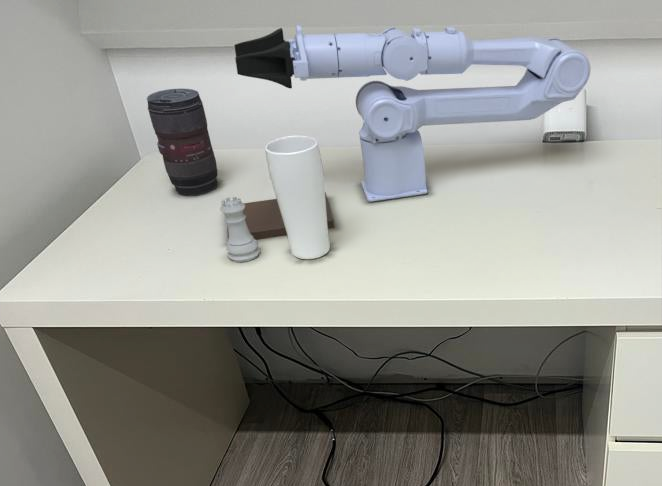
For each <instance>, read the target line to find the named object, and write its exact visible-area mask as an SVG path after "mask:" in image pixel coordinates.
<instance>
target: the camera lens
mask: <svg viewBox="0 0 662 486" xmlns="http://www.w3.org/2000/svg"><path fill="white" fill-rule="evenodd" d="M201 98H202V97H201V96H200V93H199V91H198V90H195V89H191V88H170V89H163V90H158V91H155V92H152V93H150V94H149V95H148V96H146V101H147V110H148V114H149V118H150V121H151V125H152V128H153V131H154V134H155V135H156V139H157V142H156V145H157V149H158V152H159V153H160V155H161V156H162V161H163V163H164V168H165V171H166V174H167V176H168V178H169V181H170V183H171V185H173V186H174V188H175V191H176V193H177V194H178V195H180V196H185V197H193V196H200V195H204V194H208V193H210V192H212V191H214V190H215V189H217V187H218V186H219V182H218V175H219V173H218V166H217V165H218V164H217V160H216V156H215V152H214V149H213V146H212V142H211V138H210V133H209V129H208V121H207V115H206V111H205V108H204V107H205V106H204V104H203V103H204V102H203V101H202V99H201Z"/></svg>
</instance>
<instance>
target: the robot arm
mask: <svg viewBox="0 0 662 486" xmlns="http://www.w3.org/2000/svg"><path fill="white" fill-rule="evenodd" d="M233 46H234V51H235V57H234V59H235V65H236V66H235V67H236V72H237V75H239V76H243V77H248V78H254V79H259V80H265V81H269V82H273V83H276V84H278V85H281V86H283V87H285V88H287V89H293V84H292V77H294V78H295V79H299V80H300V81H301V82H303V81H307V80H312V79H315V80H316V79H317V80H318V79H340V78H341V79H342V78H366V77H368V78H369V77H371V76H373V77H374V76H387V74H389V75H390V76H391V77H393V78H395V79H397V80H403V81H405V82H407V81H410V80H412V79H415V77H417V76H418V75H421V76H426V75H429V76H431V75H460V74H461V75H463V74H464V73H465V72H466V71H467V70H468V69H469V68H470V67H471V66H472V65H475V66H477V65H479V66H480V65H481V66H515V67H516V66H519V67H524V68H526V70H525V72H524V74H523V76H522V77H521V79H520V80H519V81H518V83H517V84H516V85H505V86H481V87H479V86H478V87H476V86H475V87H455V88H453V87H452V88H433V89H431V88H429V89H415V88H411V87H407V86H403V85H401V86H399V85H397V86H395V85H390V84H388V83H386V82H384V81H381V80H371V81H367V82H366V83H364V84H363V85H362V86H361V87H360V88H358V91H357V93H356V96H355V108H356V110H357V114H358V115H359V116H360V117H361V119H362V121H363V123H362V126H361V128H360V130H359V131H358V135H359V142H360V149H361V150H360V151H361V157H362V165H363V173H364V179H363V180H361V181H360V185H361V187H362V189H363V193H364V195H365V197H366V200H367V202H369V203H371V202H378V201H386V200H391V199H399V198H406V197H413V196H420V195H426V194H428V192H429V191H428V189H427V188H428V187H427V176H426V174H427V173H426V163H425V161H426V160H425V151H424V145H423V140H422V136H421V133H420V131H419V129H421V128H422V127H423V126H442V125H443V126H444V125H460V124H462V125H463V124H480V123H498V122H499V123H500V122H501V123H502V122H517V121H518V122H519V121H531V120H532V121H533V120H536V119H537V118H539V117H540V116H542V115H544V114H546V113H547V112H549V111H551V110H552V109H554V108H556V107H557V106H559V105H561V104H563V103H565V102H569V101H574V100H575V99H576V98H577V97H578V95H579V94H580V93H581V91H582V90H583V88H584V87H585V86H586V84H587V83H588V81H589V79H590V76H591V64H590V63H591V62H590V60H589V58H588V57H587V56H586V54H585V53H584V52H583V51H580V50H577V49H574V48H573V47H572V46H570V45H568V44H567V43H566V42H565V41H563V40H562V39H561V38H558V37H549V38H547V37H545V36H539V35H537V36H518V37H502V38H488V39H470V38H468V36H467V35H466V34H465V33H464V31H461V30H457V28H455V27H454V26H445V27H444V31H443V30H442V31H421V28H419V27H414V28H412V32H411V34H409V33H408V32H406V31H404V30H402V29H399V28H396V27H395V26H392V27H389V28H386V29H385V30H383V31H382V32H381V33H378V32H374V33H367V32H347V33H340V32H339V33H311V34H310V33H308V34H307V33H306V34H305V33H303V30H302V25H300V24H295V34H294V38H284V30H283V28H282V27H280V28H278V29H276V30H274V31H272V32H271V33H269V34H266V35H264V36H261V37H258V38H255V39H251V40H245V41H242V42H238V43H235V44H234V45H233Z"/></svg>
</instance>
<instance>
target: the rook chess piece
mask: <svg viewBox="0 0 662 486" xmlns="http://www.w3.org/2000/svg"><path fill="white" fill-rule="evenodd" d="M231 198H232V200H231ZM231 198H230V197H226V198H225V199H222V200H221V201H220V202H221V204H220V205H221V206H220V208H219V210H220V212H222V214H224V216H225V217H224V222H226V225H227V233H228V232H229V239H227V243H226V249H225V250H226V252H227V253H226V254H227V257H228V258H229V259H230V260H231V261H233V262H236V263H244V262H250V261H252V260H254V259H256V258H257V257H258V256H259V254H260V252H261V248H260V247H258V246H259V242H258V241H257V240H258V239H256V240H255V239H254V238H253V236H252V235H251V234H250V232H249V230H248V227H247V225H246V221H245V218H246V216H245V215H244V214H243V210H244V208H245V205H244V204H243V203H244V202H243V201H242V199H241V198H240V197H237V196H232V197H231Z"/></svg>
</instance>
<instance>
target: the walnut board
mask: <svg viewBox="0 0 662 486" xmlns="http://www.w3.org/2000/svg"><path fill="white" fill-rule="evenodd" d="M325 200H326V213H327V225H328V230H329V229H335V228H336V226H335V220H334V217H333V213H332V209H331V205H330V203H329V199H328V196H327V192H326V191H325ZM242 203H243V204H244V205H245V208H244V210H243V214H244V215H245V216H246V218H245V221H246V225H247V227H248V230H249V232H250V234H251V235H252V236H253V238H254V239H255V240H261V239H270V238H276V237H283V236H287V232H286V229H285V225H284V222H283V219H282V215H281V212H280V209H279V205H278V202H277V199H276V198H272V199H264V200H258V201H250V202H242ZM227 238H228V239H229V232H228V231H227ZM228 239H227V240H228Z"/></svg>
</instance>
